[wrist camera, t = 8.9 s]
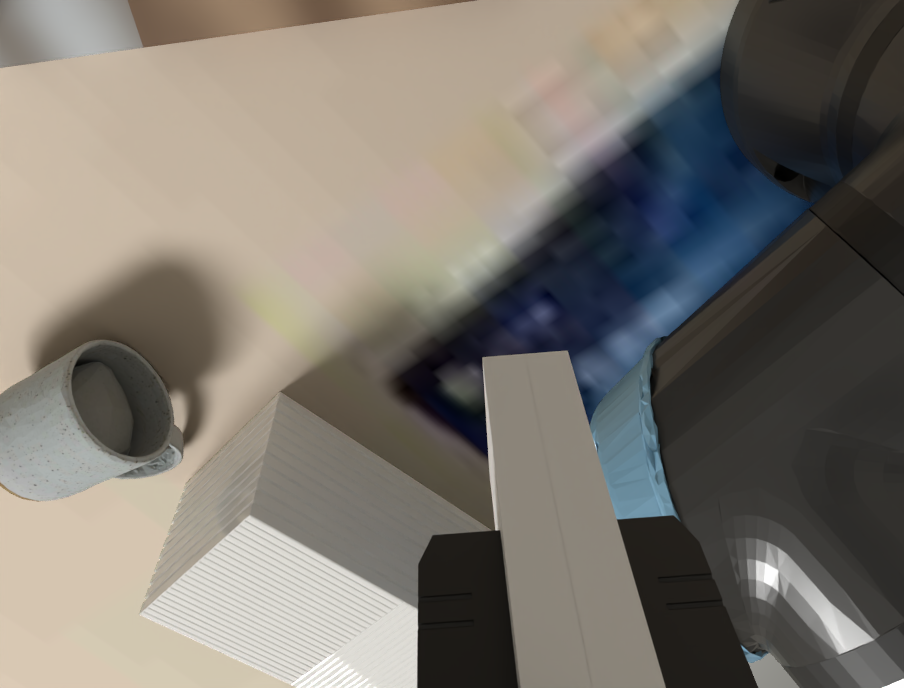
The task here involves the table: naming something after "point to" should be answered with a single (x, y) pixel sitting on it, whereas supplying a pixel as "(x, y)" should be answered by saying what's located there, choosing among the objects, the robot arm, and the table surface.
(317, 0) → the lock board
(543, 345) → the table surface
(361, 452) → the stack of papers
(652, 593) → the robot arm
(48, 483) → the ceramic mug
